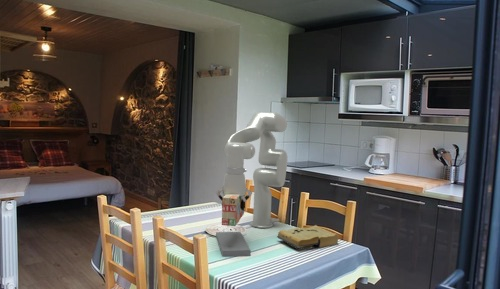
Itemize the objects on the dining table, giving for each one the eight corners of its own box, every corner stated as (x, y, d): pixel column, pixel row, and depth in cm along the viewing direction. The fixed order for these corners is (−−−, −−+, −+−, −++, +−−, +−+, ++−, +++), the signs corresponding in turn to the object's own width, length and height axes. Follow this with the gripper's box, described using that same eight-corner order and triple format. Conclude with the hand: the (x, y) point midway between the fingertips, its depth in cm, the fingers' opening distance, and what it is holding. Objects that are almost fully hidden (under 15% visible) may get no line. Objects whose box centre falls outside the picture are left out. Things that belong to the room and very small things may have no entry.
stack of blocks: (231, 213, 185) (232, 188, 184) (244, 214, 184) (245, 189, 183) (221, 225, 164) (222, 196, 163) (235, 226, 163) (236, 197, 162)
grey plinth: (240, 236, 188) (240, 231, 188) (250, 255, 162) (250, 250, 162) (216, 237, 186) (216, 232, 185) (222, 256, 160) (222, 250, 160)
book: (315, 235, 196) (316, 224, 196) (338, 245, 182) (339, 233, 181) (276, 242, 183) (276, 229, 183) (297, 253, 169) (298, 240, 169)
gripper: (252, 170, 177) (250, 207, 178) (214, 169, 174) (213, 208, 175) (255, 172, 170) (253, 211, 171) (216, 172, 166) (215, 212, 167)
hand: (233, 209), depth 173 cm, fingers closed on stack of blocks, 7 cm apart
